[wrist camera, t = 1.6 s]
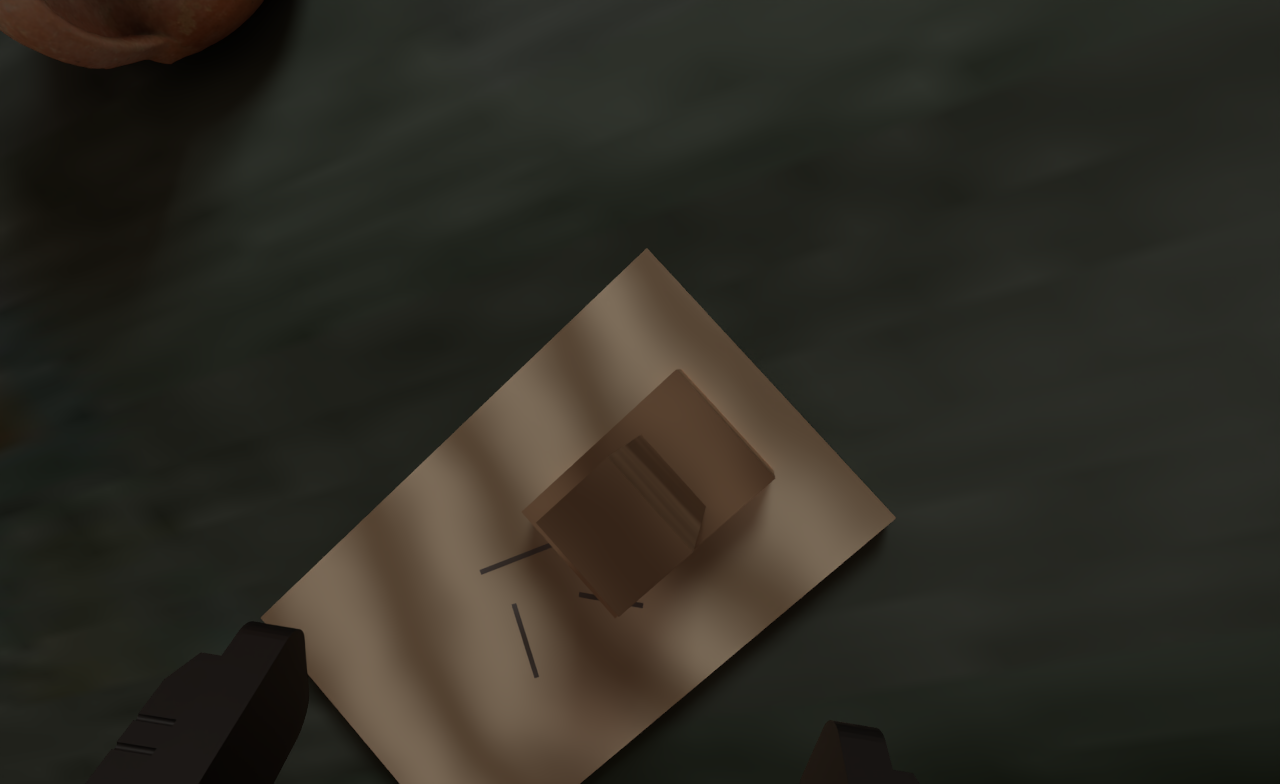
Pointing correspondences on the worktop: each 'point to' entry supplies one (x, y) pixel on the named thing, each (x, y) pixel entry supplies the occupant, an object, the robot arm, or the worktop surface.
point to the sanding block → (649, 493)
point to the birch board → (563, 562)
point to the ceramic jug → (121, 28)
